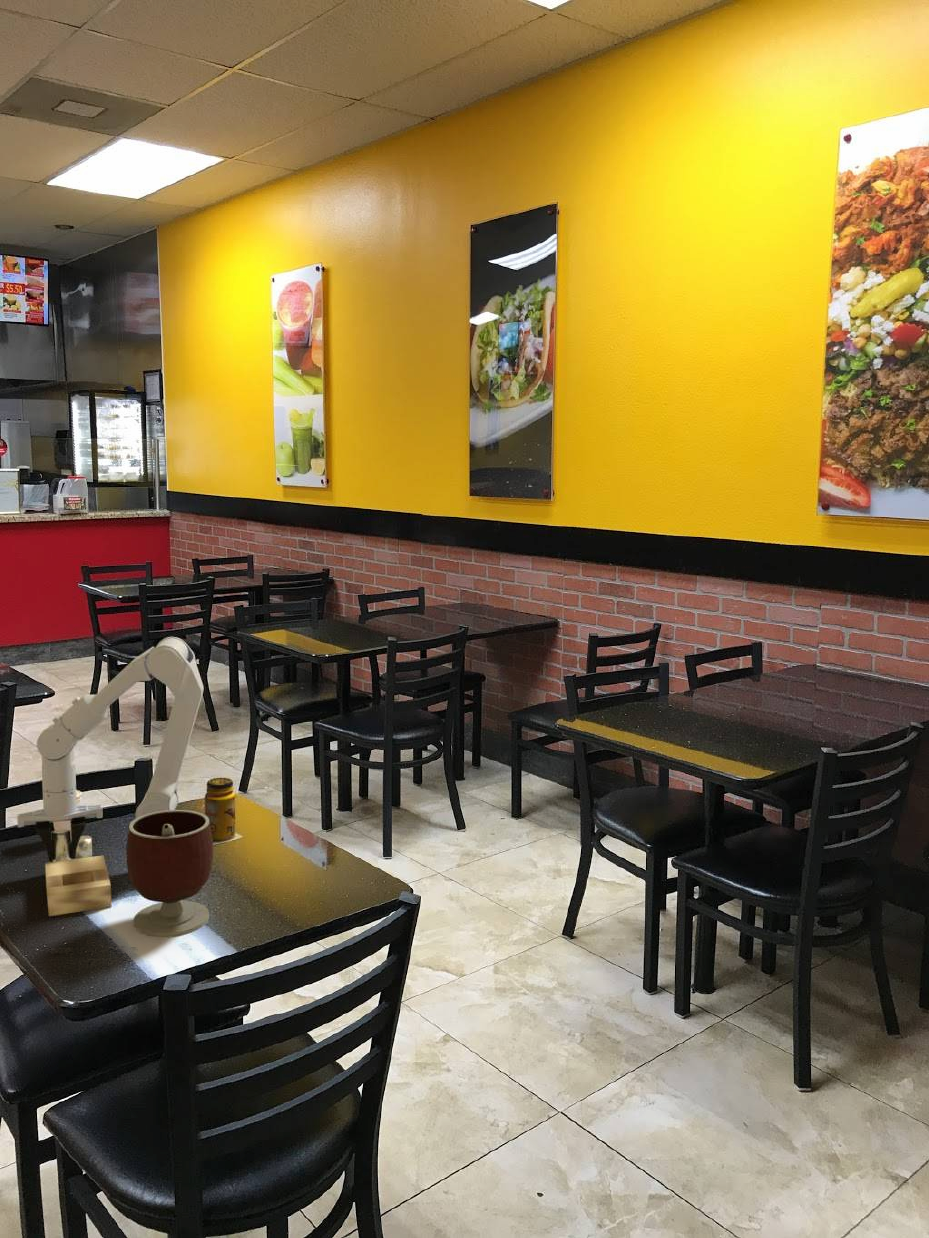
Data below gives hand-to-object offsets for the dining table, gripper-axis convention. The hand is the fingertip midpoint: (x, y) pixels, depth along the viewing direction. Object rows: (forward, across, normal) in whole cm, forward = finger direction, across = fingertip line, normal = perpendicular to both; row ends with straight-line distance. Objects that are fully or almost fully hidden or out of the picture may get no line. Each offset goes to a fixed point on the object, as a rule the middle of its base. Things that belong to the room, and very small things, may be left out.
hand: (62, 858), depth 186 cm
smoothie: (+3, -2, -17) cm, 17 cm away
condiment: (+3, -30, -8) cm, 31 cm away
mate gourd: (+3, -16, +28) cm, 32 cm away
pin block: (+3, -2, +11) cm, 12 cm away
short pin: (+3, -4, -6) cm, 8 cm away
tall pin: (+3, 0, 0) cm, 3 cm away
